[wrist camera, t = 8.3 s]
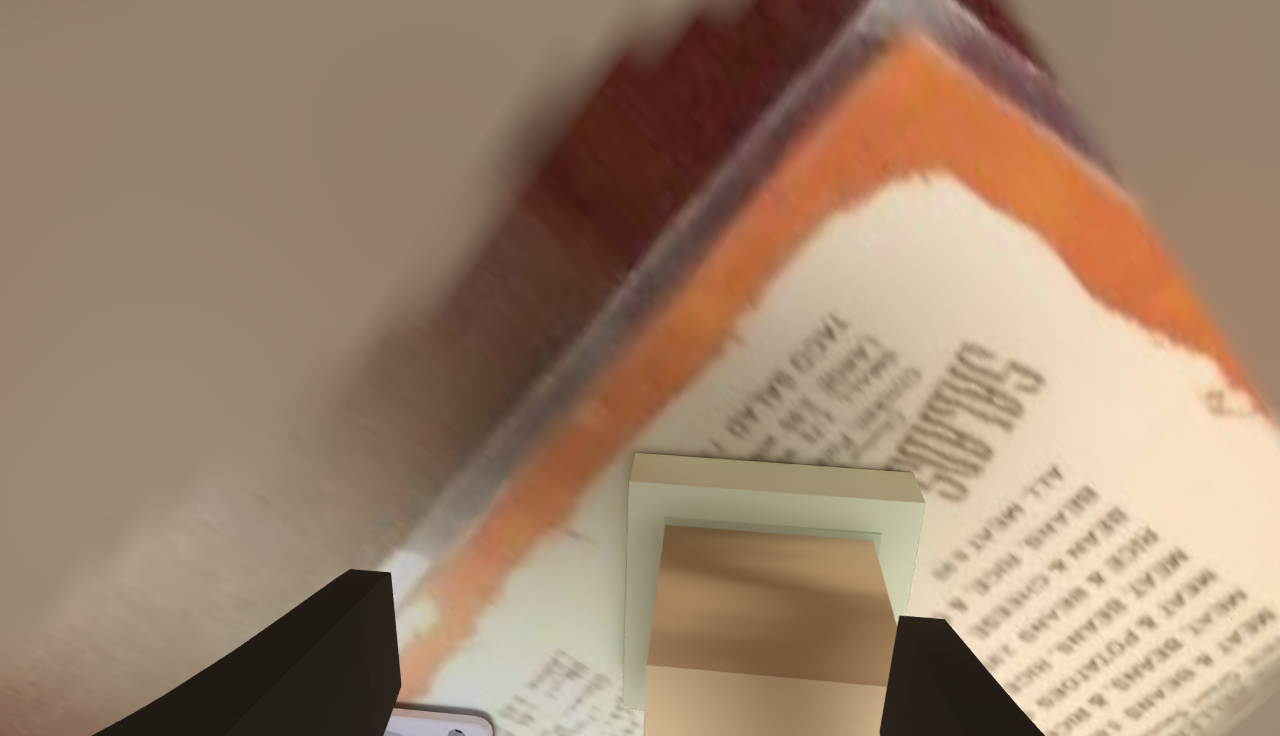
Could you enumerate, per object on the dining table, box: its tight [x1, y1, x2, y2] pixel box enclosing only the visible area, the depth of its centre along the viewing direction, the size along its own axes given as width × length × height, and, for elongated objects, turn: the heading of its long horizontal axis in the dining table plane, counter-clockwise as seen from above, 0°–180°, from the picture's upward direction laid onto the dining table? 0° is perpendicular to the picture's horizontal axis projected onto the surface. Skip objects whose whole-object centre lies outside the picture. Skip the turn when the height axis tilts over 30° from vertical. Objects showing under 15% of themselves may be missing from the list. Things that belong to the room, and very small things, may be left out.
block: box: [644, 525, 897, 736], centre depth 20 cm, size 5×5×5 cm
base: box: [623, 453, 925, 711], centre depth 23 cm, size 7×7×2 cm
